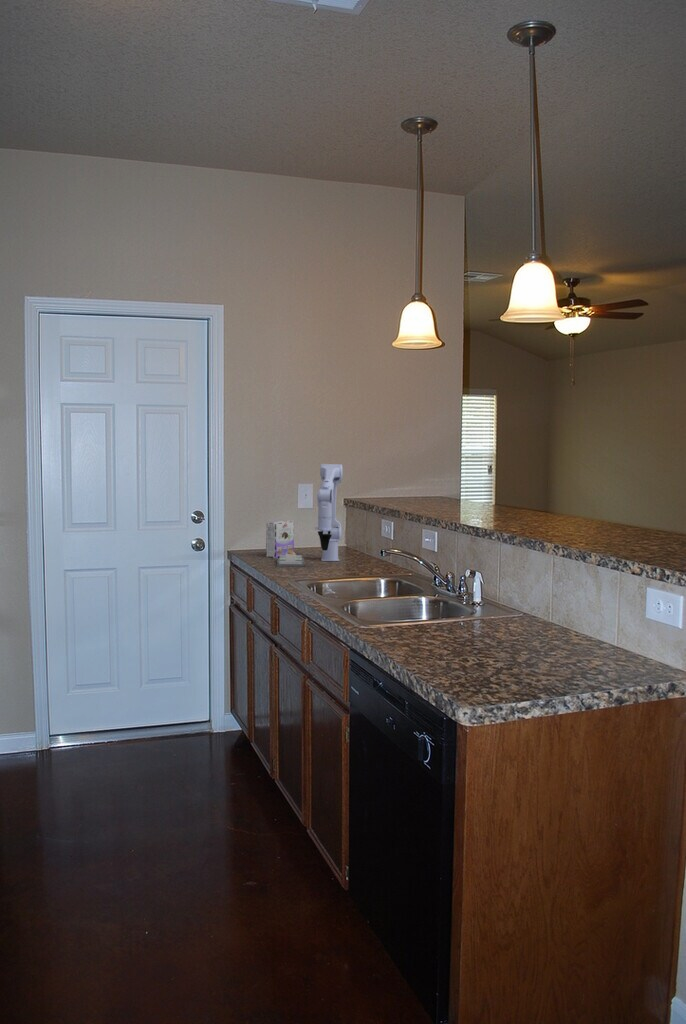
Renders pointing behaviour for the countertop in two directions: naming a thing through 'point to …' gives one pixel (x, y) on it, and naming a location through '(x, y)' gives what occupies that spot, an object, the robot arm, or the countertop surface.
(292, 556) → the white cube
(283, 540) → the candy box
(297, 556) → the rail mat
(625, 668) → the countertop surface
